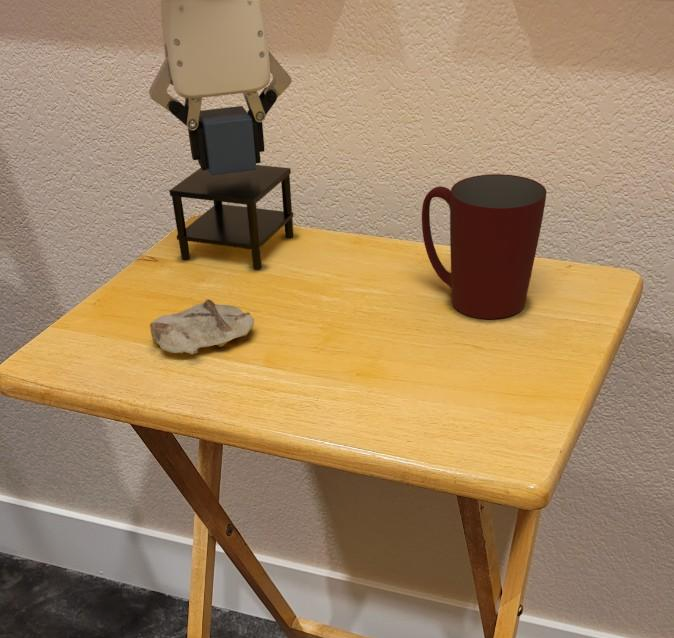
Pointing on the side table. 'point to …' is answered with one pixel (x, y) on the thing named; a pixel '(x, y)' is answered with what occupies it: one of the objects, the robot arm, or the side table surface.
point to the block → (228, 140)
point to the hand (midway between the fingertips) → (229, 161)
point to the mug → (489, 241)
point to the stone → (200, 327)
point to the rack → (234, 209)
